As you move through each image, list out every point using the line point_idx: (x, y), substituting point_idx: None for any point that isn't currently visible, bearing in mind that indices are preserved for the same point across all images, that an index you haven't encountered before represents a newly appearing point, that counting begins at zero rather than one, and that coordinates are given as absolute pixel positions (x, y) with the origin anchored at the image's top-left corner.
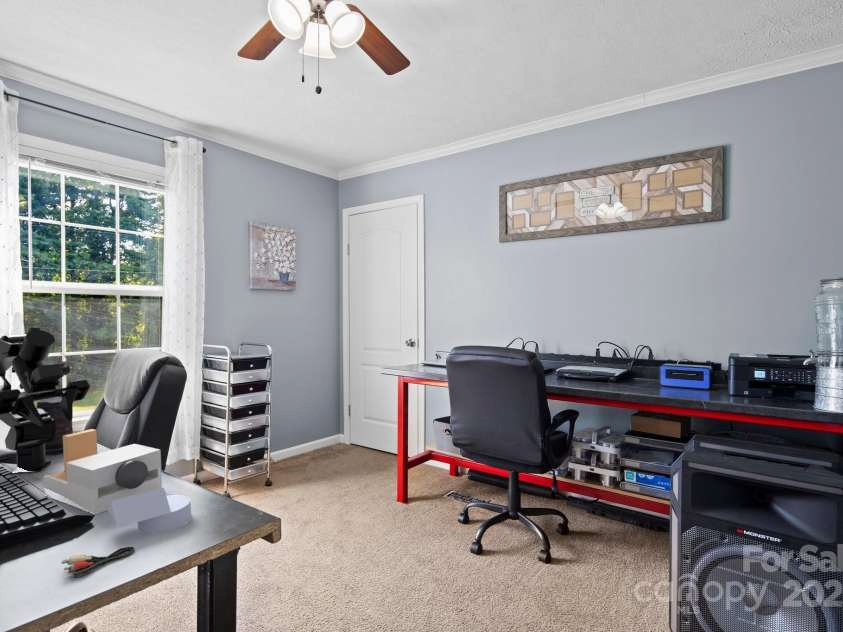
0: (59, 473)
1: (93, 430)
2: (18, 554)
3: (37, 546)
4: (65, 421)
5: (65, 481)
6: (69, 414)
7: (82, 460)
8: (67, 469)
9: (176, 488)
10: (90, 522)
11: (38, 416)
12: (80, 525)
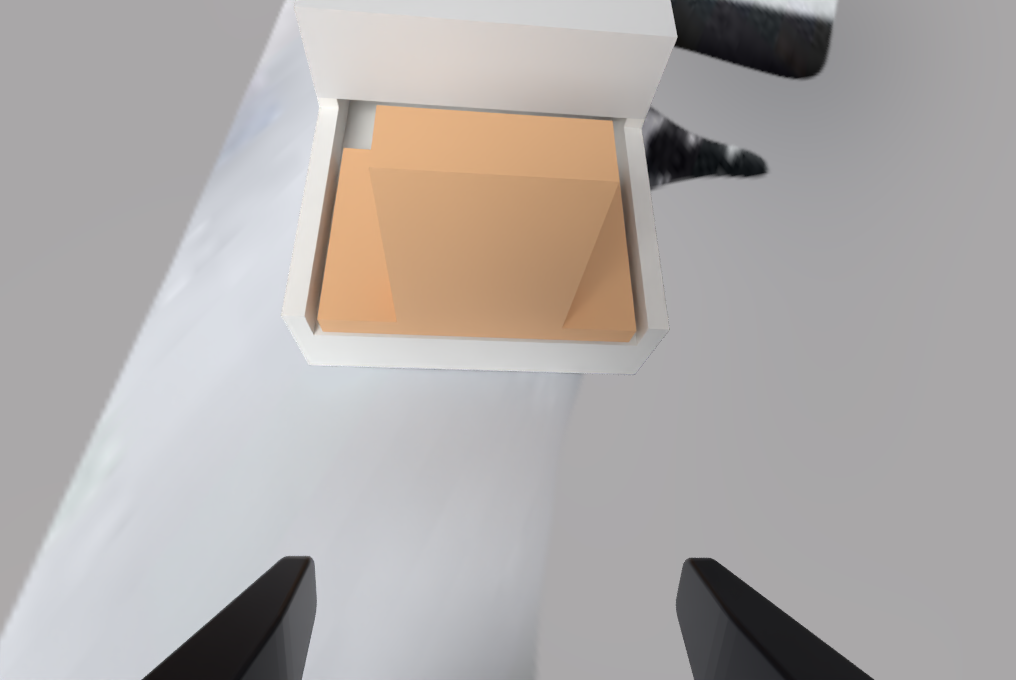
0: (597, 307)
1: (396, 112)
2: (809, 30)
3: (769, 29)
4: None
5: (634, 159)
6: (291, 596)
7: (615, 1)
8: (663, 63)
9: None
10: None
11: (801, 650)
12: None
